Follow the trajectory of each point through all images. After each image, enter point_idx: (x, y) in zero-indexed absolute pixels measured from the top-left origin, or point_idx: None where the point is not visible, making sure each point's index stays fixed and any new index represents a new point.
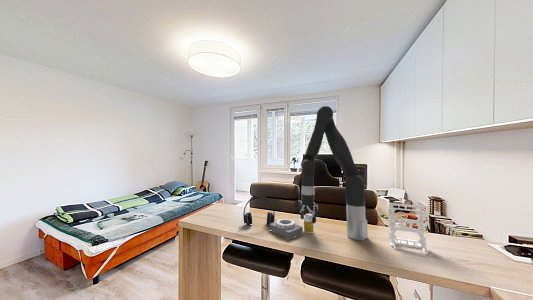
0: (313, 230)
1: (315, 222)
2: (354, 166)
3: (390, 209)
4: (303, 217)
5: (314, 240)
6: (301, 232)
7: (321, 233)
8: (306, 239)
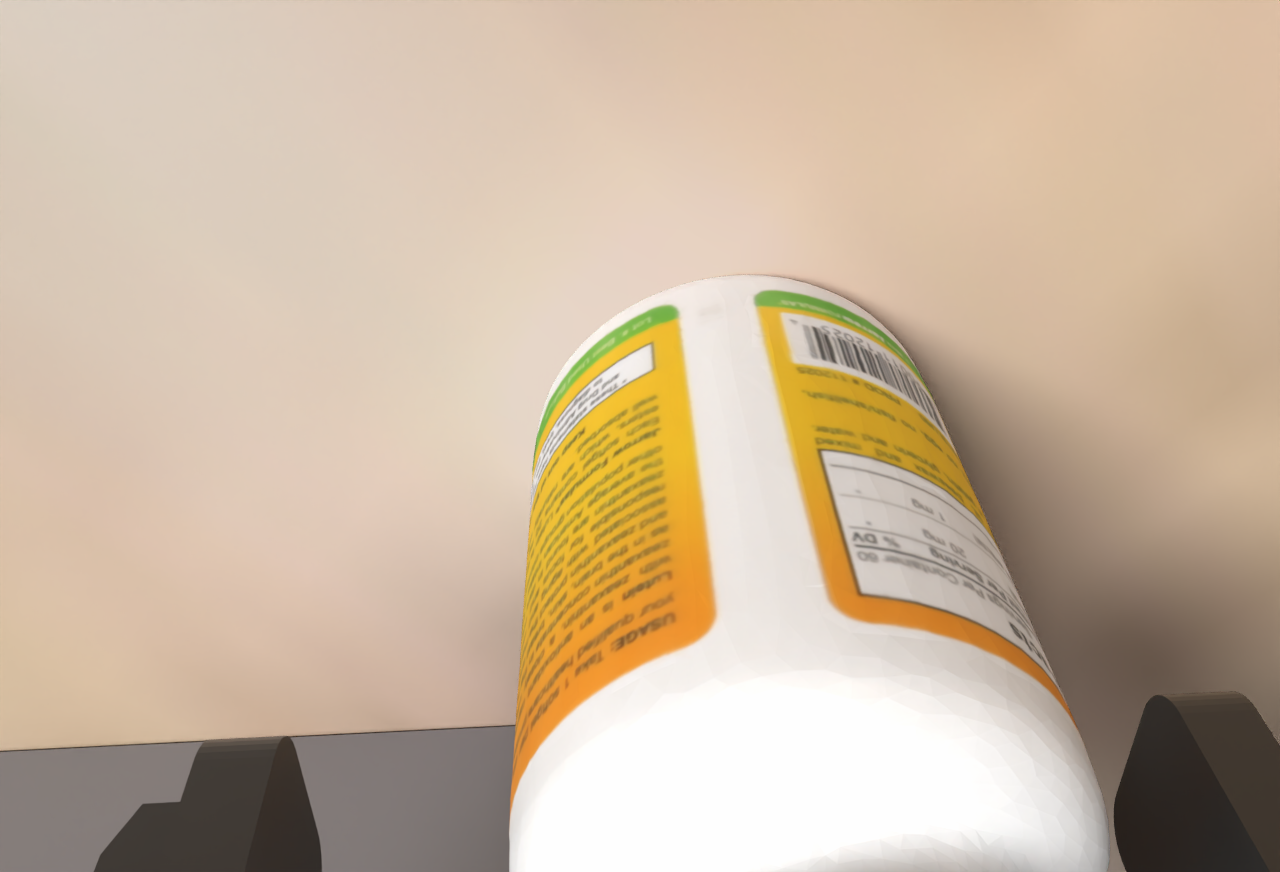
0: (927, 388)
1: (1237, 693)
2: None
3: None
4: (279, 825)
5: None
6: None
7: (1251, 196)
8: None
